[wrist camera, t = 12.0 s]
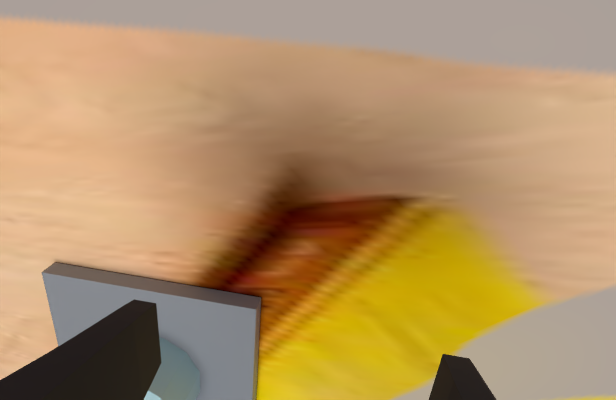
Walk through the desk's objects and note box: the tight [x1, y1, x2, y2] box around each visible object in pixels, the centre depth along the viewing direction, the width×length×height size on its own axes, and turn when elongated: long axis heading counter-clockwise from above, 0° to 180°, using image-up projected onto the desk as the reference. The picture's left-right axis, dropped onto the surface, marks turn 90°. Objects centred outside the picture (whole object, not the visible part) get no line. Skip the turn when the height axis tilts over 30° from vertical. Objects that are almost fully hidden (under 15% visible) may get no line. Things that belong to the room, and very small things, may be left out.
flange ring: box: [144, 338, 200, 400], centre depth 22 cm, size 6×6×3 cm
